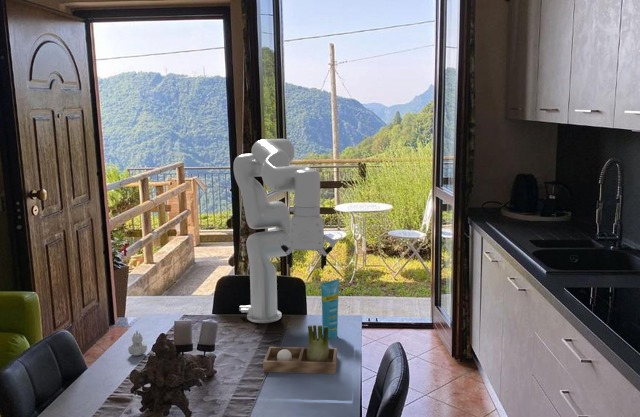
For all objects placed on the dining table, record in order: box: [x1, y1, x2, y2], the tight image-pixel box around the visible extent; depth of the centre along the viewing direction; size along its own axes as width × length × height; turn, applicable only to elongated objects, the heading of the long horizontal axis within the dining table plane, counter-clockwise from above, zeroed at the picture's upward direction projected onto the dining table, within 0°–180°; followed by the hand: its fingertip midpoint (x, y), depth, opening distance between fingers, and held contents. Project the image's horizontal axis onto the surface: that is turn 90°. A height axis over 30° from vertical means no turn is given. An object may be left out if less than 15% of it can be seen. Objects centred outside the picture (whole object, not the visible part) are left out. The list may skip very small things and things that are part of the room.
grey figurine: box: [128, 330, 148, 357], centre depth 169 cm, size 5×7×8 cm
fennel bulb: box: [307, 324, 330, 362], centre depth 160 cm, size 6×5×12 cm
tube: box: [320, 278, 340, 340], centre depth 182 cm, size 7×5×19 cm, turn 134°
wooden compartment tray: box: [262, 346, 338, 375], centre depth 161 cm, size 20×11×4 cm, turn 86°
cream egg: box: [277, 349, 292, 361], centre depth 161 cm, size 4×4×4 cm
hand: (306, 267), depth 167 cm, fingers open, 9 cm apart
